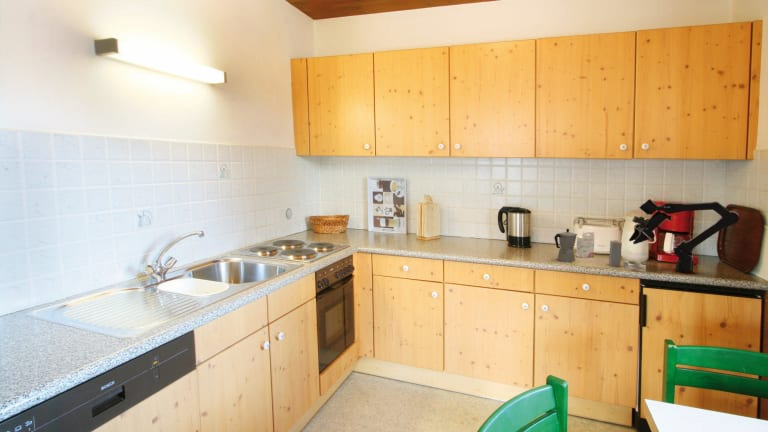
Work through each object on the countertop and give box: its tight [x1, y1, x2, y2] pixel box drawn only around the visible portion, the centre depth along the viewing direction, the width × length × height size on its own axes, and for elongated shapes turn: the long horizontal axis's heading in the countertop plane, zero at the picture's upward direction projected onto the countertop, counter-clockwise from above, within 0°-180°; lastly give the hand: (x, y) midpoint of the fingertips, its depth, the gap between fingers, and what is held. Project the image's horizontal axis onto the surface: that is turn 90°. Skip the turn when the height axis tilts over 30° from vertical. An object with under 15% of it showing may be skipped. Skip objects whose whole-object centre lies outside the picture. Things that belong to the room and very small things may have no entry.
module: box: [608, 238, 623, 268], centre depth 240 cm, size 4×5×14 cm
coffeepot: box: [553, 228, 578, 263], centre depth 251 cm, size 15×9×18 cm, turn 110°
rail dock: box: [623, 260, 647, 273], centre depth 233 cm, size 8×9×3 cm
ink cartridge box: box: [575, 231, 595, 259], centre depth 261 cm, size 9×5×15 cm, turn 105°
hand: (631, 242), depth 237 cm, fingers open, 9 cm apart
